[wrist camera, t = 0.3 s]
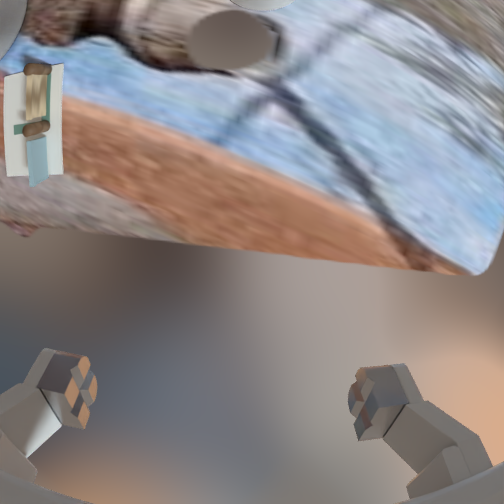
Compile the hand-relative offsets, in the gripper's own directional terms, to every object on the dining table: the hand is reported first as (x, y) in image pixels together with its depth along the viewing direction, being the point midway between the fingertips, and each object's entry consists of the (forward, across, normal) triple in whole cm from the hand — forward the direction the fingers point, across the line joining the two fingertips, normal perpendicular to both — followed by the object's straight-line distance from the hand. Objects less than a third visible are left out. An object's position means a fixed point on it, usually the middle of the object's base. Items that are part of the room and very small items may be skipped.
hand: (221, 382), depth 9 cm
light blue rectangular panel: (+46, +36, +1) cm, 59 cm away
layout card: (+47, +40, -6) cm, 62 cm away
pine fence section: (+47, +36, -10) cm, 60 cm away
